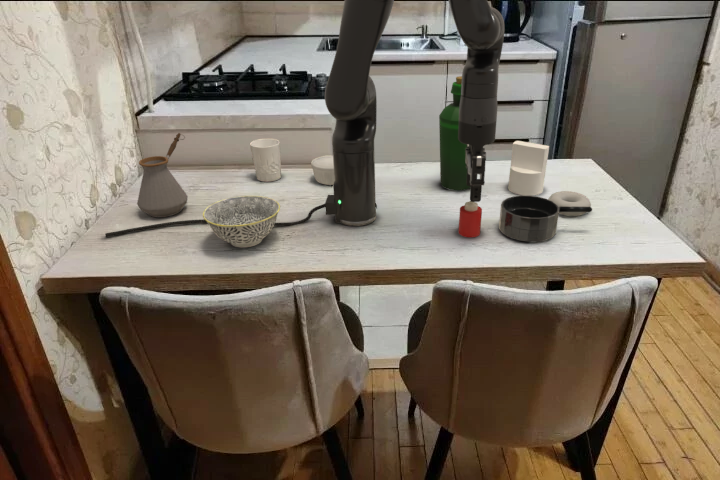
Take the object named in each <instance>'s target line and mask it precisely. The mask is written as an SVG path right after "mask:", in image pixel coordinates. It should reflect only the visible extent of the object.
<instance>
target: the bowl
mask: <svg viewBox="0 0 720 480" xmlns="http://www.w3.org/2000/svg"><path fill="white" fill-rule="evenodd" d="M280 210H281V205H280V203H279V202H278V201H277V200H275V199H273V198H272V197H271V198H270V197H267V196H264V195H263V196H262V195H239V196H232V197H227V198H224V199H221V200H218V201H215V202H213V203H211V204H209V205H208V206H207V207H206V208H205V209H204V210H203V211H202V218H203V219H205V220H206V222H207V223H206V224H208V225H209V227H210V229H211V231H212V232H213V233H214V234H215V235H216V236H217V238H218V239H220V240H221V241H224V242H226V243H228V244H230V245H231V246H232V247H235V248H241V249H243V248H245V249H246V248H250V247H254V246H257V245H259V244H260V243H262V241H263V239H264V238H267V236H268V235H269V234H270V233H271V232H272V230H273V229H274V228H275V226H274V224H275V223H276V221H277V217H278V214H279V212H280Z"/></svg>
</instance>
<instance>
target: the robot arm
mask: <svg viewBox="0 0 720 480" xmlns="http://www.w3.org/2000/svg"><path fill="white" fill-rule="evenodd" d="M343 1H344V3H343V7H342V13H341V20H340V25H339V34H338V40H337V46H336V51H335V55H334V59H333V62H332V64H331V68H330V69H331V70H330V72H329V75H328V79H327V81H326V82H327V83H326V86H325V89H324V102H325V106H326V109H327V110H328V112H329V114H330V115H331V117H333V118H334V119H335V126H334V129H333V133H332V136H331V145H332V146H331V147H332V155H333V163H334V179H335V181H334V184H333V185H332V187H333V194H327V197H326V199H325V202H324V203H323V204H320V205H317V206H315V207H313V208H311V209H310V211H309V212H308V214H307V216H306V217H304V218H303V219H301V220H297V221H292V222H275V224H274V227H290V226H291V227H292V226H297V225H301V224H304V223H307V222H308V221H309V220H310V219H311V218H312V215H313V214H314V213H315V212H317V211H319V210H322V209H325V216H334V218H335V223H336V224H342V225H344V226H349V227H362V226H367V225H370V224H372V223H373V222H375V220H376V219H377V210H378V205H377V203H376V202H377V201H376V166H375V165H376V163H375V161H376V160H375V158H376V157H375V138H376V133H377V115H378V114H377V105H378V103H377V102H378V101H377V89H376V85H375V83H374V80H373V78H372V77H371V76H370V71H371V66H372V61H373V58H374V54H375V51H376V49H377V47H378V44H379V42H380V40H381V38H382V35H383V33H384V31H385V29H386V26H387V24H388V21H389V18H390V16H391V13H392V10H393V6H394V2H395V0H343ZM447 1H448V4H449V7H450V11H451V15H452V19H453V21H454V24H455V28H456V29H457V33H458V35H459V37H460V39H461V40H462V42H463V43H464V45H465V46H466V47H467V51H466V60H465V63H464V66H463V68H462V73H461V74H462V75H461V76H462V84H461V100H460V105H459V126H458V140H459V141H460V142H461V143H463V144H466V145H467V148H466V149H465V156H466V157H465V163H466V164H467V165H466V167H467V182H466V184H467V186H471V187H470V188H469V189H470V191H469V201H471V202H476V203H480V202H481V200H482V188H483V187H482V186H484V185H485V183H486V182H485V175H486V174H485V173H486V161H487V151H486V148H485V146H486V145H491V144H493V143H494V142H495V141H496V131H497V122H498V121H497V120H498V119H497V118H498V88H499V69H500V63H501V62H500V61H501V56H502V51H503V46H504V39H505V20H504V17H503V15H502V13H501V12H500V11H499V10H498V9H496V8H494V7H492V6H490V4H489V1H488V0H447ZM478 175H479V178H478ZM188 224H208V223H207V222H206V220H205V219H204V218H203V219H186V220H178V221H176V220H175V221H168V222H162V223H155V224H150V225H149V224H148V225H144V226H138V227H132V228H127V229H122V230H117V231H112V232H106V233H105V235H104V236H105V237H106V238H108V237H109V238H110V237H114V236H118V235H119V236H120V235H123V234H128V233H134V232H139V231H145V230H151V229H157V228H158V229H159V228H163V227H170V226H171V227H172V226H178V225H179V226H180V225H188Z"/></svg>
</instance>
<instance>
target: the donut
mask: <svg viewBox="0 0 720 480" xmlns="http://www.w3.org/2000/svg"><path fill="white" fill-rule="evenodd" d="M548 200H550V201H553V202H554V203H556V204H557V205H558V207H560V206H561V207H591V208H592V204H591V201H590V198H588V197H587V196H586V195H584V194H582V193H579V192H576V191H572V190H571V191H569V190H562V191H556V192H554V193H552V194H551V195H550V196H549V197H548ZM587 213H588V212H559V215H561V216H567V217H578V216H579V217H580V216H583V215H585V214H587Z"/></svg>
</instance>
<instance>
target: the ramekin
mask: <svg viewBox="0 0 720 480" xmlns="http://www.w3.org/2000/svg"><path fill="white" fill-rule="evenodd" d="M310 166H311V169H312V172H313V176H314V180H315V181H316V182H317V183H319V184H321V185H326V186H333V184H334V181H335V179H334V163H333V154H331V155H330V154H329V155H322V156H318V157H316V158H313V159H312V160H311V162H310Z"/></svg>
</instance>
